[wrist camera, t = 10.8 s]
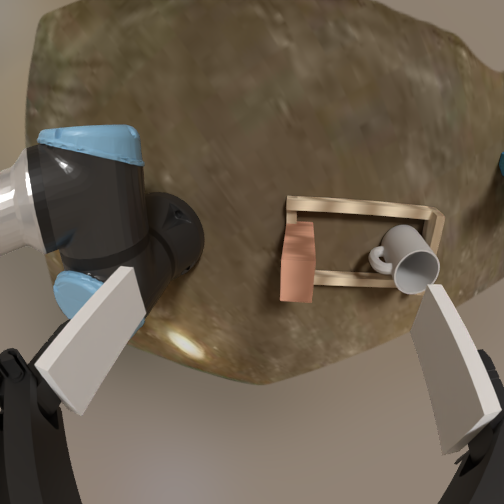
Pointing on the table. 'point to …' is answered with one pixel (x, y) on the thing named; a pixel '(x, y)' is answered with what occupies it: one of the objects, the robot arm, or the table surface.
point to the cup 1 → (406, 259)
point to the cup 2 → (502, 163)
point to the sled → (303, 246)
